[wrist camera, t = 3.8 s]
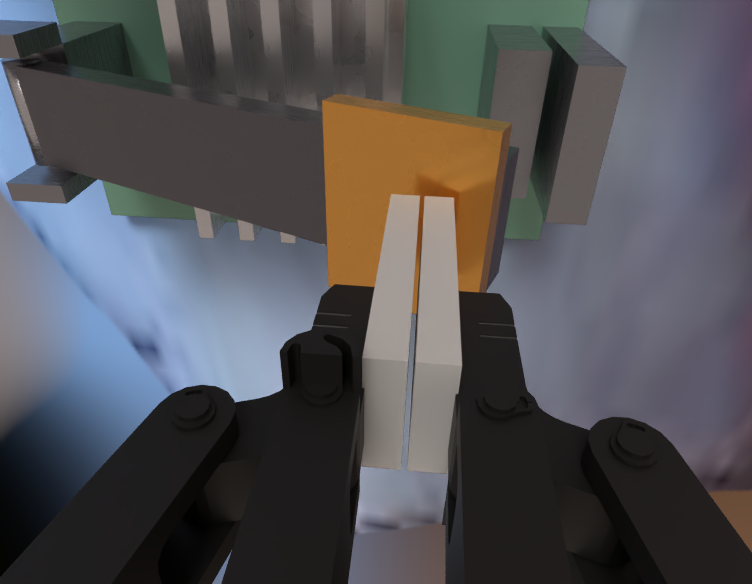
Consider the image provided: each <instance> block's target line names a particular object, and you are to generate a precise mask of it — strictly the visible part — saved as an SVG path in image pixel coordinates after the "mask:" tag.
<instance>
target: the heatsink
mask: <svg viewBox="0 0 752 584" xmlns="http://www.w3.org/2000/svg"><path fill="white" fill-rule="evenodd" d="M157 5H158V11H159V16H160V22H161V27H162V33H163V38H164V44H165V49H166V55H167V60H168V66H169V71H170V77H171V82H172V84H176V85H181V86H186V87H192V88H197V89H203V90H208V91H214V92H219V93H225V94H230V95H235V96H241V97H246V98H252V99H257V100H263V101H268V102H273V103H279V104H284V105H290V106H295V107H301V108H306V109H312V110H317V111H322V112H323V110H322V100H325V99H327V98H329V97H331V96H333V95H336V94H343V95H349V96H354V97H360V98H366V99H372V100H378V101H384V102H390V103H396V104H402V105H403V103H404V81H405V59H406V37H407V15H408V0H157ZM194 209H195V214H196V220H197V225H198V231H199V237H200V238H214V237H215V236H216V234H217V233H218V231H219V230H220V229H221V227H222V226H223V224H224V223H225V221H226V220H227V218H228V217H227V216H224V215H220V214H217V213H213V212H210V211H206V210H203V209H199V208H196V207H194ZM237 220H238V219H237ZM238 227H239V235H240V240H248V241H255V239H256V237H257V235H258V234H259V232H260V230H261V228H262V226H258V225H255V224H251V223H248V222H244V221H241V220H238ZM280 236H281V243H296V241H297V239H298V237H296V236H293V235H290V234H286V233H283V232H280ZM322 245H324V244H322Z"/></svg>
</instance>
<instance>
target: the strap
mask: <svg viewBox="0 0 752 584" xmlns="http://www.w3.org/2000/svg"><path fill="white" fill-rule="evenodd" d="M1 63H2V66H3V69H4V72H5V75H6V78H7V80H8V83H9V86H10V89H11V92H12V95H13V98H14V101H15V104H16V107H17V110H18V113H19V116H20V119H21V122H22V124H23V127H24V130H25V133H26V136H27V139H28V142H29V145H30V148H31V151H32V154H33V157H34V160H35V163H36V164H37V165H39V166H54V167H57V168H61V169H64V170H68V171H71V172H75V173H78V174H82V175H85V176H89V177H92V178H96V179H99V180H102V181H106V182H109V183H113V184H116V185H120V186H123V187H127V188H130V189H134V190H137V191H141V192H144V193H147V194H151V195H154V196H158V197H161V198H165V199H168V200H172V201H175V202H179V203H182V204H186V205H189V206H193V207H196V208H199V209H203V210H206V211H210V212H213V213H217V214H220V215H224V216H227V217H231V218H234V219H238V220H241V221H244V222H248V223H251V224H255V225H258V226H262V227H265V228H269V229H272V230H276V231H279V232H283V233H286V234H290V235H293V236H296V237H300V238H303V239H307V240H310V241H314V242H317V243H321V244H324V245H327V253H328V281H329V287H332V286H333V285H334V284H341V285H355V286H370V287H375V282H376V277H377V271H378V265H379V260H380V254H381V248H382V243H383V237H384V231H385V226H386V220H387V214H388V208H389V203H390V197H391V194H398V195H416V196H420V203H419V218H418V233H417V247H416V262H415V277H414V291H413V305H412V313H414V314H416V313H417V296H418V280H419V267H420V253H421V239H422V226H423V212H424V198H425V196H434V197H451V198H454V210H455V231H456V251H457V272H458V291H467V292H481V293H486V291H487V289H488V288H489V286H490V284H491V283H492V281H493V280H494V278H495V277H496V275H497V274H498V272H499V266H500V260H501V254H502V248H503V242H504V236H505V231H506V225H507V219H508V213H509V207H510V201H511V195H512V189H513V183H514V177H515V171H516V165H517V159H518V153H519V148H518V147H513V146H509V142H510V136H511V130H512V123H509V122H503V121H498V120H492V119H486V118H480V117H474V116H468V115H462V114H456V113H450V112H444V111H438V110H432V109H426V108H420V107H414V106H408V105H402V104H396V103H390V102H384V101H378V100H372V99H366V98H360V97H354V96H349V95H343V94H336V95H333V96H331V97H329V98H327V99H325V100H322V110H323V112H322V111H317V110H312V109H306V108H301V107H295V106H290V105H284V104H279V103H273V102H268V101H263V100H257V99H252V98H246V97H241V96H235V95H230V94H225V93H219V92H214V91H208V90H203V89H197V88H192V87H186V86H181V85H176V84H170V83H165V82H159V81H154V80H148V79H143V78H137V77H132V76H127V75H121V74H116V73H110V72H105V71H99V70H94V69H89V68H83V67H78V66H72V65H67V64H61V63H56V62H50V61H45V60H41V57H40V56H36V55H29V56H27V57H24V58H21V59H13V58H3V59H2V60H1Z"/></svg>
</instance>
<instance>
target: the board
mask: <svg viewBox="0 0 752 584" xmlns="http://www.w3.org/2000/svg"><path fill="white" fill-rule="evenodd" d="M53 3H54V7H55V10H56V14H57V18H58V21H59V25H62V24H65V23H69V22H72V21H90V22H117V23H122V26H123V31H124V36H125V40H126V45H127V49H128V54H129V59H130V63H131V68H132V72H133V77H137V78H143V79H148V80H154V81H159V82H165V83H170V84H172V82H171V77H170V71H169V66H168V60H167V55H166V49H165V44H164V38H163V33H162V27H161V22H160V16H159V11H158V5H157V0H53ZM588 3H589V0H408V15H407V37H406V59H405V81H404V103H403V105H408V106H414V107H420V108H426V109H432V110H438V111H444V112H450V113H456V114H462V115H468V116H474V117H477V110H478V102H479V93H480V85H481V77H482V69H483V60H484V52H485V44H486V35H487V27H488V24H495V25H523V26H533V28H534V29H535V30H536V31H537V33H538V34H539V35H540V36H542V30H543V26H551V27H579V28H580V29H581V30H583V27H584V22H585V18H586V13H587V8H588ZM103 185H104V188H105V192H106V196H107V199H108V203H109V207H110V210H111V214H112V215H124V216H141V217H158V218H174V219H191V220H196V214H195V209H194V207H193V206H189V205H186V204H182V203H179V202H175V201H172V200H168V199H165V198H161V197H158V196H154V195H151V194H147V193H144V192H141V191H137V190H134V189H130V188H127V187H123V186H120V185H116V184H113V183H109V182H106V181H103ZM543 218H544V217H543V215H542V212H541V209H540V206H539V203H538V200H537V197H536V194H535V191H534V188H533V186H532V183H531V180H530V178H529V183H528V188H527V194H526V199H522V198H511V201H510V207H509V213H508V219H507V225H506V231H505V236H504V238H510V239H526V240H539V238H540V233H541V228H542V223H543ZM225 222H238V220H237V219H234V218H231V217H228V218H227V220H226V221H225Z"/></svg>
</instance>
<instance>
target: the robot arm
mask: <svg viewBox="0 0 752 584" xmlns="http://www.w3.org/2000/svg"><path fill="white" fill-rule="evenodd" d="M419 203H420V196H416V195H398V194H391V197H390V203H389V208H388V214H387V220H386V226H385V231H384V237H383V243H382V248H381V254H380V260H379V265H378V271H377V277H376V282H375V287H370V286H355V285H341V284H334V285H333V286H332V287H331V288H330V289H329V290H328V291H327V292H326V293H325V294H324V295H323V296H322V297H321V300H320V303H319V306H318V310H317V314H316V316H315V319H314V323H313V326H312V329H311V330H310V331H307V332H304V333H300V334H297V335H296V336H294V337H293V338H291V339H290V340H288V341H287V342H286V343H285V344H284V346H283V347H282V349H281V350H280V360H281V370H282V380H283V389H282V390H281V391H279V392H277V393H275V394H272V395H270V396H267V397H263V398H259V399H253V400H247V401H241V402H235V401H234V400H233V398H232V397H231V396H230V394H229V393H228V392H227V391H225V390H223V389H221V388H218V387H216V386H207V385H198V386H192V387H186V388H184V389H182V390H179V391H177V392H175V393H172V394H171V395H169V396H168V397H167V398H166V399H165V400H163V401H162V402H161V403H160V404H159V405H158V406H157V407H156V408H155V409H154V410H153V411H152V412H151V413H150V414H149V416H148V417H147V418H146V419H145V420H144V421H143V422H142V423H141V424H140V425H139V426H138V428H137V429H136V430H135V431H134V432H133V433H132V434H131V435H130V436H129V437H128V438H127V440H126V441H125V442H124V443H123V444H122V445H121V446H120V447H119V448H118V449H117V450H116V452H115V453H114V454H113V455H112V456H111V457H110V458H109V459H108V460H107V462H106V463H105V464H104V465H103V466H102V467H101V468H100V469H99V470H98V471H97V472H96V473H95V475H94V476H93V477H92V478H91V479H90V480H89V481H88V482H87V483H86V484H85V485H84V487H83V488H82V489H81V490H80V491H79V492H78V493H77V494H76V495H75V496H74V497H73V499H72V500H71V501H70V502H69V503H68V504H67V505H66V506H65V507H64V508H63V509H62V511H61V512H60V513H59V514H58V515H57V516H56V517H55V518H54V519H53V520H52V521H51V523H50V524H49V525H48V526H47V527H46V528H45V529H44V530H43V531H42V533H41V534H40V535H39V536H38V537H37V538H36V539H35V540H34V541H33V542H32V543H31V544H30V546H29V547H28V548H27V549H26V550H25V551H24V552H23V553H22V554H21V555H20V557H19V558H18V559H17V560H16V561H15V562H14V563H13V564H12V565H11V566H10V567H9V568H8V570H7V571H6V572H5V573H4V574H3V575H2V576H1V577H0V584H212V583H213V581H214V579H215V578H216V576H217V574H218V572H219V571H220V569H221V567H222V566H223V564H224V562H225V561H226V559H227V557H228V555H229V554H230V552H231V550H232V552H231V555H230V558H229V561H228V564H227V568H226V571H225V574H224V577H223V580H222V584H348V578H349V570H350V563H351V555H352V547H353V539H354V531H355V524H356V516H357V508H358V500H359V492H360V468H361V461H362V466H363V467H374V468H385V469H396V470H401V462H402V448H403V433H404V419H405V405H406V391H407V377H408V362H409V348H410V334H411V320H412V305H413V291H414V277H415V262H416V247H417V233H418V218H419ZM407 471H418V472H429V473H441V474H447V471H448V486H447V493H446V500H445V507H444V514H443V521H442V525H446V584H752V552H751V551H750V550H749V548H748V547H747V546H746V544H745V543H744V542H743V540H742V539H741V537H740V536H739V535H738V533H737V532H736V530H735V529H734V528H733V526H732V525H731V524H730V522H729V521H728V520H727V518H726V517H725V516H724V514H723V513H722V511H721V510H720V509H719V507H718V506H717V505H716V503H715V502H714V500H713V499H712V498H711V496H710V495H709V494H708V492H707V491H706V489H705V488H704V487H703V485H702V484H701V483H700V481H699V480H698V478H697V477H696V476H695V474H694V473H693V472H692V470H691V469H690V468H689V466H688V465H687V463H686V462H685V461H684V459H683V458H682V457H681V455H680V454H679V452H678V451H677V450H676V448H675V447H674V446H673V444H672V443H671V442H670V441H669V440H668V439H667V438H666V437H665V436H664V435H663V434H662V433H661V432H659V431H657V430H656V429H654V428H652V427H651V426H649V425H647V424H646V423H643V422H640V421H637V420H634V419H630V418H623V417H610V418H607V419H603V420H600V421H598V422H597V423H596V424H595V425H594V426H593V427H592V428H591V429H590V430H587V429H584V428H581V427H578V426H575V425H572V424H569V423H566V422H563V421H561V420H558V419H556V418H554V417H552V416H550V415H549V414H547V413H546V412H544V411H543V410H541V409H540V408H539V407H538V404H537V402H536V400H535V398H534V397H533V396H532V395H531V394H530V393H529V392H528V391H527V388H526V385H525V379H524V374H523V368H522V363H521V357H520V352H519V346H518V341H517V335H516V330H515V327H514V319H513V313H512V308H511V307H510V306H509V304H508V303H507V302H506V301H505V300H504V298H503V297H502V296H501V295H500V294H496V293H481V292H467V291H458V272H457V251H456V231H455V210H454V198H451V197H434V196H425V198H424V212H423V226H422V239H421V253H420V267H419V280H418V296H417V313H416V330H415V347H414V364H413V381H412V398H411V414H410V431H409V448H408V465H407Z"/></svg>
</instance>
